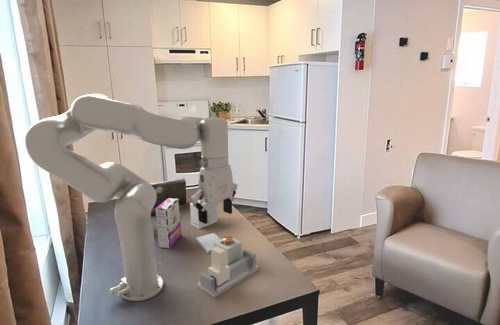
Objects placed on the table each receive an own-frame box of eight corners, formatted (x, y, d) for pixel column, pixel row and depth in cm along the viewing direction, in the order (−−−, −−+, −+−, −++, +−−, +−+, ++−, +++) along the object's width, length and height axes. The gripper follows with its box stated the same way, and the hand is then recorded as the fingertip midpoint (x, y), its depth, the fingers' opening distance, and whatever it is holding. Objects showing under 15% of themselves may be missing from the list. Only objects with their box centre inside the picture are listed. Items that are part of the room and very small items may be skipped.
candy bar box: (170, 234, 135) (167, 197, 131) (181, 235, 134) (179, 198, 130) (157, 248, 125) (154, 208, 121) (170, 249, 124) (167, 209, 120)
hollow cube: (227, 267, 111) (227, 249, 110) (214, 260, 116) (213, 242, 114) (242, 259, 116) (241, 241, 115) (228, 252, 121) (228, 235, 119)
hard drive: (227, 245, 124) (214, 232, 135) (207, 250, 120) (195, 237, 131) (227, 249, 125) (214, 236, 135) (208, 254, 121) (195, 240, 131)
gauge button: (227, 259, 113) (227, 241, 112) (220, 255, 116) (220, 238, 114) (235, 255, 116) (234, 238, 114) (228, 252, 118) (227, 234, 117)
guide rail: (214, 297, 96) (214, 282, 95) (197, 286, 101) (196, 271, 100) (259, 269, 110) (259, 255, 109) (242, 260, 116) (241, 247, 114)
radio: (185, 201, 173) (184, 174, 169) (192, 206, 166) (191, 178, 162) (141, 211, 160) (139, 182, 156) (147, 217, 153) (144, 187, 149)
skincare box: (209, 217, 152) (208, 196, 149) (218, 221, 147) (217, 200, 145) (190, 224, 145) (189, 202, 142) (199, 229, 140) (198, 206, 137)
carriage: (218, 286, 99) (217, 255, 97) (208, 280, 102) (207, 250, 99) (229, 278, 103) (229, 249, 100) (220, 273, 106) (219, 244, 103)
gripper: (199, 170, 84) (201, 230, 88) (245, 158, 96) (244, 212, 101) (181, 164, 89) (184, 222, 93) (227, 154, 101) (228, 206, 106)
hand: (215, 217), depth 97 cm, fingers open, 9 cm apart
